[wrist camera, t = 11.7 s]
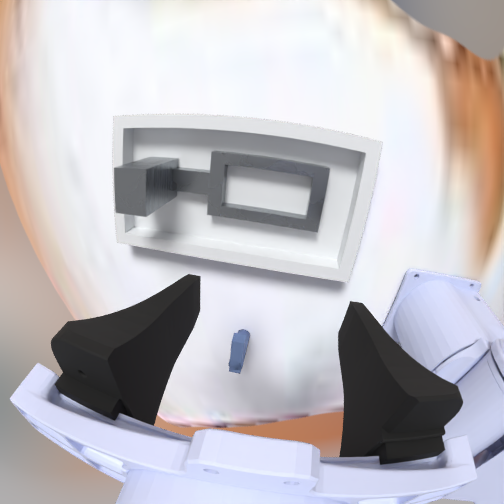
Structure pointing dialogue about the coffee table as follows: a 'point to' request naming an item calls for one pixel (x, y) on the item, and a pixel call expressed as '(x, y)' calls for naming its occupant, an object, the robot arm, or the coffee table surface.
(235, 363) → the t-stake
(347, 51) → the coffee table surface
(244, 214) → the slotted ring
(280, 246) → the tray
